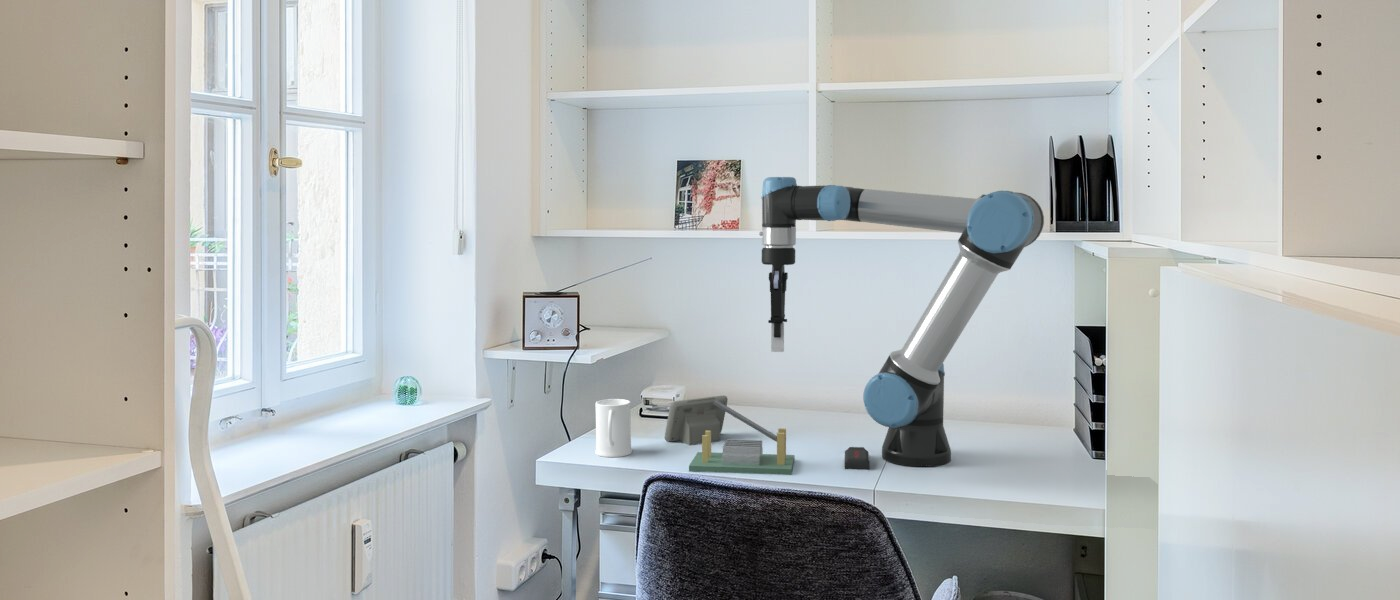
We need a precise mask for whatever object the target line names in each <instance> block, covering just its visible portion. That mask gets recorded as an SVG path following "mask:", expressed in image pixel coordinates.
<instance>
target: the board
mask: <svg viewBox="0 0 1400 600" xmlns="http://www.w3.org/2000/svg"><path fill="white" fill-rule="evenodd" d="M776 436H777V442H776V453H775V454H774V453H773V454H772V453H770V454H769V453H763V457H762V459H761V462H760V465H759V466H754V465H724V464H722V455H723V452H712V442H711V431H705V435H702V443H701V450H702V451H697V452H696V454H695V456H694V457H693V459H692V460H691V462H690V463H689V465H688V472H698V473H700V472H702V473H731V474H732V473H733V474H758V475H759V474H760V475H761V474H763V475H783V476H787V475H789V476H791V475H793V469H794V465H795V461H796V460H795V459H796V458H795V454H787V428H786V427H778V432H776Z"/></svg>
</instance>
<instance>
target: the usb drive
mask: <svg viewBox="0 0 1400 600" xmlns="http://www.w3.org/2000/svg"><path fill="white" fill-rule="evenodd" d="M869 455H870V454H869V451H868V450H867V449H866V448H865V447H862V446H861V447H859V446H849V447H848V448H847V449H845V451H844V470H857V471H858V470H863V471H864V470H865V471H869V470H870V456H869Z"/></svg>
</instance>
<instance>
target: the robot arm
mask: <svg viewBox="0 0 1400 600" xmlns="http://www.w3.org/2000/svg"><path fill="white" fill-rule="evenodd" d="M760 198H761V210H762V211H761V214H762V215H761V217H762V218H761V219H762V220H761V221H762V223H761V227H762V228H761V230H762V231H759V234H758V235H759V236H760V237H761V244H762V245H763V246H764V247H762V249H761V263H762V264H763V265H768V266H769V265H771V266H772V268H771V272H769V273H768V281H769V292H770V319H769V320H768V324H771V329H770V330H771V331H770V332H771V338H770V340H771V341H770V342H771V343H770V344H771V345H770V349H771V350H770V351H771V353H783V352H785V323H787V322H788V319H787V318H786V314H785V313H786V312H785V310H786V309H785V308H786V307H785V306H786V292H787V280H788V277H789V276H788V275H789V273H788V272H785V266H789V265H790V266H791V265H792V266H793V265H795V264H796V249H795V248H794V246H795V245H796V244H797V241H796V240H797V226H796V225H797V224H796V222H797V221H826V222H836V221H846V222H847V221H848V222H855V223H856V222H858V223H870V224H878V225H884V226H885V225H888V226H897V227H906V228H914V229H923V230H929V231H930V230H931V231H941V232H949V233H950V232H951V233H957V234H961V235H960V237H959V238H958V240H957V244H958V247H959V253H958V254H957V256H956V259H955V260H954V261H953V263H952V265H951V267H950V268H949V270H948V272H947V273H946V274H945V276H944V278H943V280H942V282H941V283H940V285H939V286H938V288H937V290H936V291H935V293H934V294H933V296H932V298H931V299H930V301H929V303H928V305H927V307H926V308H925V310H924V311H923V313H922V315H921V316H920V318H919V320H918V321H917V323H916V324H915V327H914V328H913V330H912V331H911V332H910V335H909V336H908V338H907V340H906V341H905V343H904V344H903V346H902V348H901V349H899V350H895V351H894V350H893V351H891V352H890V354H889V355H888V357H887V359H886V361H885V362H884V363H883V365H882V367H881V369H880V371H879V372H878V373H876V374H875V375H873V376H871V378H870V379H869V380H868V381H867V383H866V385H865V386H864V390H863V397H862V398H863V403H864V407H865V410H866V412H867V414H868V415H869V416H870V417H871V419H873V421H875V422H876V423H877V424H879V425H881V426H883V427H886V428H887V433H886V434H885V438H884V441H883V443H882V446H881V457H882V459H884V460H885V461H886V462H889V463H892V464H896V465H900V466H910V467H936V466H942V465H945V464H948V463H950V462H951V460H952V459H951V458H952V449H951V446H950V443H949V440H948V437H947V433H946V430H945V426H944V406H945V405H944V401H945V400H944V399H945V398H944V397H945V395H944V394H945V375H946V372H945V365H944V362H945V360H946V359H947V357H948V356H949V354H950V352H951V351H952V350H953V347H954V345H955V344H956V343H957V341H958V339H959V338H960V336H961V334H962V333H963V331H964V330H965V328H966V326H967V324H968V323H969V322H970V320H971V318H972V317H973V315H974V313H975V312H976V310H977V309H978V307H979V306H980V304H981V302H982V300H984V297H985V296H986V294H987V293H988V291H989V289H990V288H991V286H992V284H993V283H994V282H995V280H996V278H997V276H998V275H999V274H1000V273H1003V272H1007V271H1011V269H1012V267H1013V266H1014V264H1015V263H1016V261H1017V259H1018V258H1019V257H1020V254H1021V253H1023V250H1024V248H1027V247H1028V246H1031V245H1032V244H1033V243H1034V242H1035V241H1036V240H1037V239H1039V237H1040V235H1041V234H1042V231H1043V229H1044V225H1045V216H1044V211H1043V209H1042V207H1041V205H1040V204H1039V203H1038V201H1036V199H1034V198H1033V197H1032V196H1030V195H1028V194H1025V193H1023V192H1014V191H1009V190H997V191H993V192H990V193H988V194H981V195H979V196H978V197H977V198H973V197H961V196H950V195H939V194H929V193H928V194H927V193H916V192H903V191H893V190H881V189H870V188H859V187H858V188H857V187H852V186H843V185H835V184H827V185H804V186H803V185H798V184H797V179H796V178H795V177H793V176H768V177H766V178H764V180H763V182H762V192H761V197H760Z"/></svg>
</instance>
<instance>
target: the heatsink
mask: <svg viewBox="0 0 1400 600" xmlns="http://www.w3.org/2000/svg"><path fill="white" fill-rule="evenodd" d="M725 440H726V441H725V442H724V444H723V446H722V453H723V455H722V464H724V465H754V466H759V465H760V462H761V459H762V457H763V454H764V452H763V451H764V450H763V440H758V439H731V438H730V439H728V438H727V439H725Z"/></svg>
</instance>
